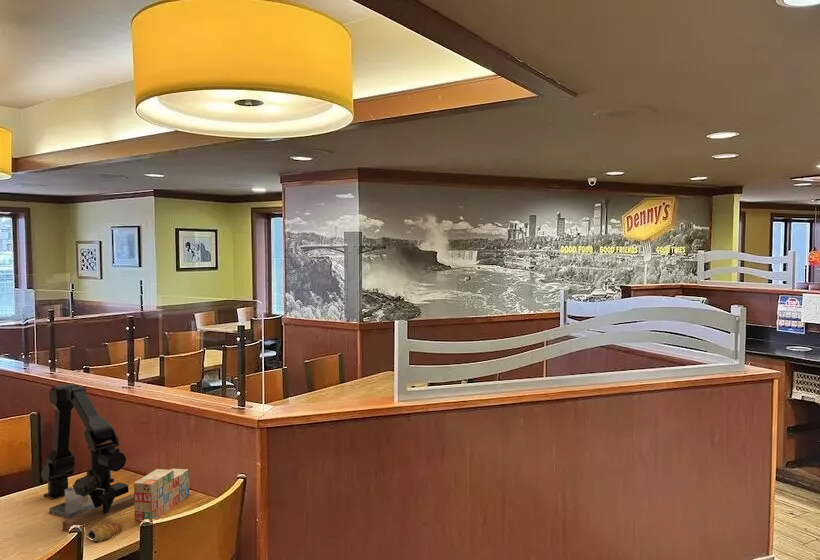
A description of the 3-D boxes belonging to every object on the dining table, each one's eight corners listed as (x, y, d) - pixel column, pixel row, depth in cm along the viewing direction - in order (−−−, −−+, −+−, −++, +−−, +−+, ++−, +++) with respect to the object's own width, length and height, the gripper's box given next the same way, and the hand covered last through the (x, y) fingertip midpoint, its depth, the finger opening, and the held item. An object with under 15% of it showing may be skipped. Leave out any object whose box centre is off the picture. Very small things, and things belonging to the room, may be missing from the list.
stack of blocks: (173, 494, 215) (172, 459, 215) (189, 495, 214) (189, 460, 214) (134, 520, 194) (133, 482, 194) (152, 522, 193) (151, 483, 193)
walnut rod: (62, 531, 188) (62, 521, 188) (132, 502, 209) (131, 493, 209) (68, 533, 187) (68, 523, 186) (138, 504, 208) (137, 495, 207)
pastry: (114, 527, 190) (114, 515, 190) (127, 532, 186) (127, 520, 186) (84, 539, 182) (84, 526, 182) (97, 545, 179) (97, 532, 178)
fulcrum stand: (49, 512, 200) (48, 494, 200) (83, 499, 211) (83, 482, 211) (69, 518, 196) (68, 500, 195) (103, 504, 206) (102, 486, 206)
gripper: (57, 468, 194) (59, 516, 195) (97, 477, 186) (99, 528, 186) (90, 457, 204) (91, 503, 205) (129, 465, 196) (130, 514, 196)
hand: (102, 512), depth 198 cm, fingers closed on walnut rod, 3 cm apart
